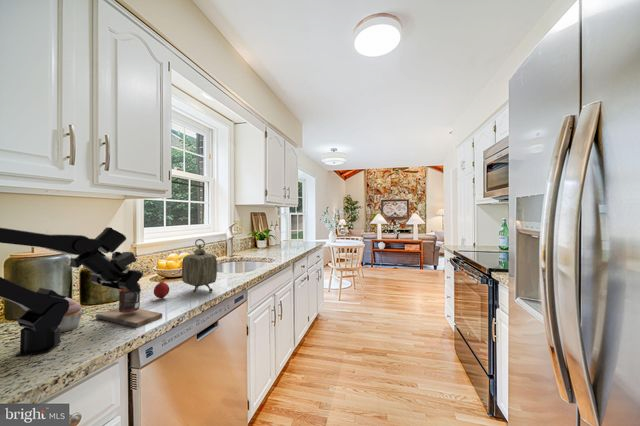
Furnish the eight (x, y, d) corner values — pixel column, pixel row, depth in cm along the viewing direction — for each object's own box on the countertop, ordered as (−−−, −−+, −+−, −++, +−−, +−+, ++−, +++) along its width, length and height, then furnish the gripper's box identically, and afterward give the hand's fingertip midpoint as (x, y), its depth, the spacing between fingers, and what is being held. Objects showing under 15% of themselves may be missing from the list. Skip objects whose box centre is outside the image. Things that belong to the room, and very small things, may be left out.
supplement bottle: (142, 309, 93) (143, 277, 93) (123, 314, 88) (124, 280, 88) (135, 306, 96) (135, 275, 97) (115, 311, 91) (116, 278, 92)
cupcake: (54, 324, 86) (54, 294, 86) (89, 321, 89) (90, 291, 89) (35, 337, 77) (36, 303, 77) (75, 332, 81) (76, 299, 81)
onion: (161, 301, 110) (162, 282, 110) (150, 300, 111) (150, 281, 111) (172, 297, 116) (172, 279, 116) (160, 296, 117) (161, 278, 117)
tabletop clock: (216, 291, 125) (217, 239, 125) (199, 296, 117) (200, 240, 117) (197, 287, 132) (198, 237, 133) (180, 291, 124) (181, 238, 125)
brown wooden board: (134, 328, 84) (134, 323, 84) (95, 318, 91) (95, 314, 91) (162, 317, 93) (162, 313, 93) (124, 309, 100) (124, 305, 100)
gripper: (138, 246, 86) (167, 273, 96) (102, 243, 92) (133, 269, 102) (110, 275, 78) (146, 301, 88) (73, 269, 85) (110, 295, 95)
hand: (134, 290), depth 94 cm, fingers closed on supplement bottle, 6 cm apart
